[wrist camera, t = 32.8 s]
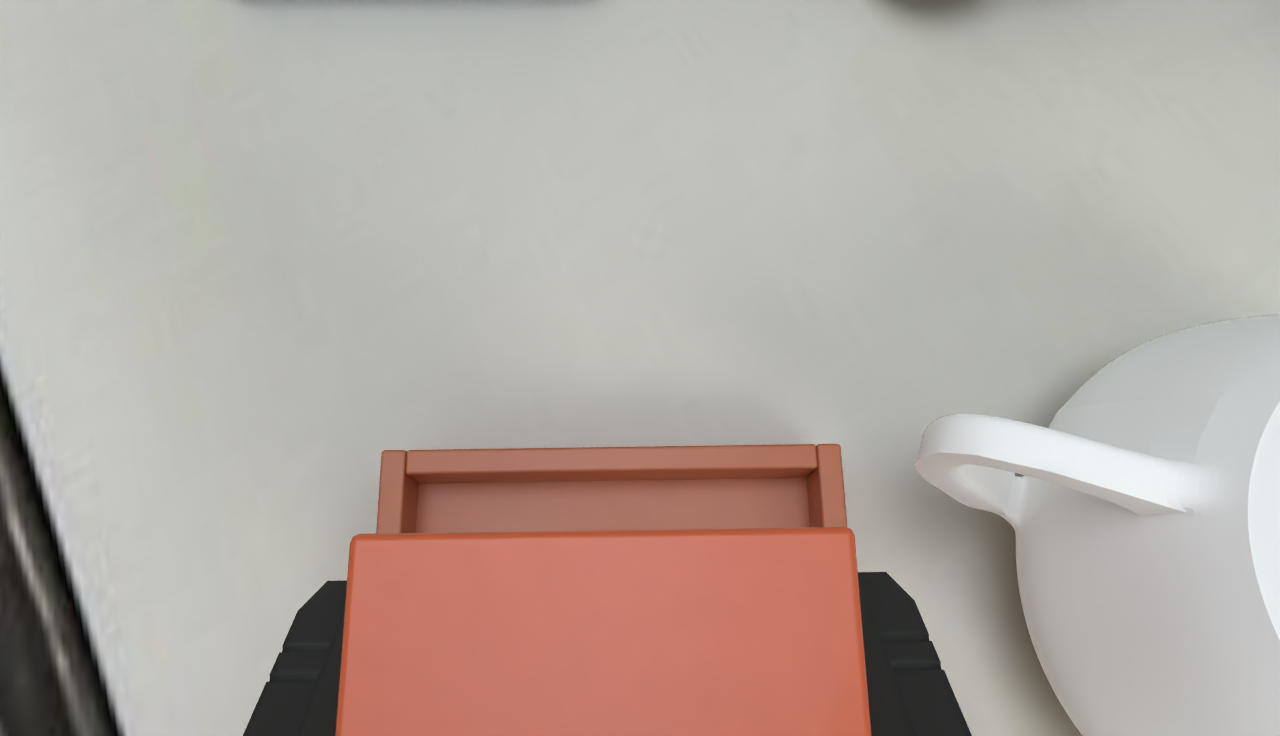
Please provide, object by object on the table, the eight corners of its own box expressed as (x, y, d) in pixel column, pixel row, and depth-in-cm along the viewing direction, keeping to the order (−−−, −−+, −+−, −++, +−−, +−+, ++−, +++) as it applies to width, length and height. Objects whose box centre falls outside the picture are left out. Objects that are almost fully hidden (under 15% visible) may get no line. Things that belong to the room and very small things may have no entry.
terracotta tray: (373, 949, 20) (345, 985, 18) (401, 465, 23) (381, 450, 21) (859, 936, 20) (886, 970, 18) (822, 459, 24) (841, 443, 21)
